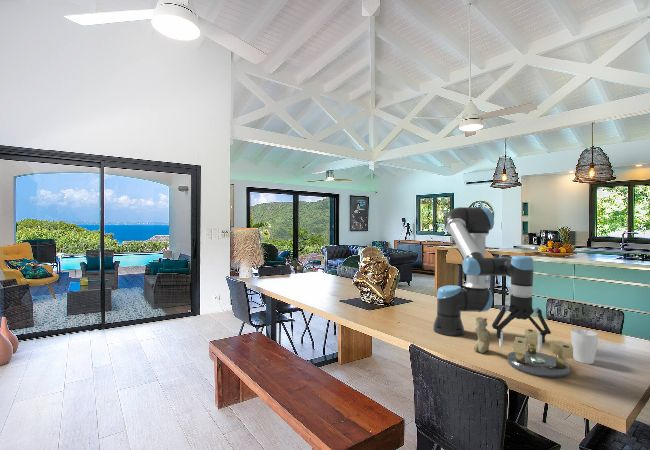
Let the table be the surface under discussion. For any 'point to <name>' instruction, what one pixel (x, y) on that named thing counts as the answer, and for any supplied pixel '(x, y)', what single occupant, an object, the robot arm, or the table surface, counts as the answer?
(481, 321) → the sculpture
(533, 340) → the beige blocky piece
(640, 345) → the table surface
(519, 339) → the knob left
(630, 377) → the table surface
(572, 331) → the cup
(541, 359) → the plate
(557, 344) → the knob right
